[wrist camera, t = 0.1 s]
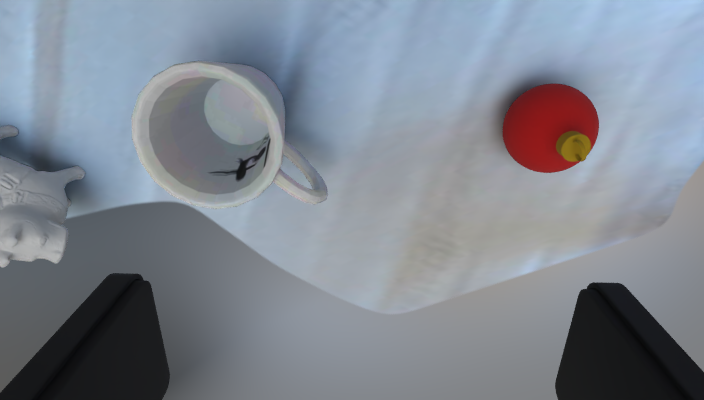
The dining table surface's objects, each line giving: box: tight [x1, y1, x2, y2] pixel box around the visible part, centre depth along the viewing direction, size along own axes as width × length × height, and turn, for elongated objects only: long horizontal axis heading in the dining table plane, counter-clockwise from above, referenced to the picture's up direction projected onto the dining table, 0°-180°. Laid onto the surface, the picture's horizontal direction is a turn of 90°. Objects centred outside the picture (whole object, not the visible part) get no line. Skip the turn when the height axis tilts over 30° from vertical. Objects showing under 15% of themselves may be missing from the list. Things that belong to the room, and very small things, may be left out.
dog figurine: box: [0, 125, 85, 267], centre depth 38 cm, size 5×13×11 cm, turn 54°
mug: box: [132, 61, 328, 209], centre depth 35 cm, size 10×15×10 cm
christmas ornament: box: [503, 84, 599, 173], centre depth 35 cm, size 7×7×10 cm
